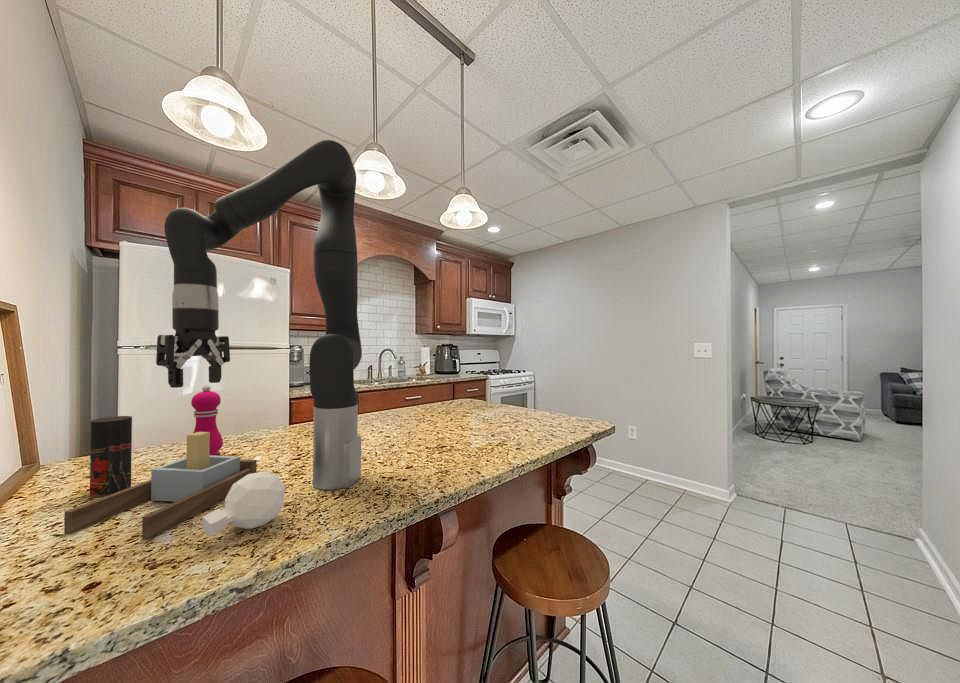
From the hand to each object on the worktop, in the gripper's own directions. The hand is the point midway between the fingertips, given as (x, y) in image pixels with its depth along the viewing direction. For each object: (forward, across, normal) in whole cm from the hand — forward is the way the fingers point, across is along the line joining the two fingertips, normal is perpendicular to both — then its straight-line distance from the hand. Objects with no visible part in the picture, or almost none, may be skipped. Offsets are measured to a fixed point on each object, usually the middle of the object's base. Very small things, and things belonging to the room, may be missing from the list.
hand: (196, 384), depth 73 cm
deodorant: (+22, -2, +18) cm, 28 cm away
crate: (+22, -1, -1) cm, 22 cm away
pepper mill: (+22, +16, +14) cm, 31 cm away
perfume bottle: (+23, -12, -21) cm, 33 cm away
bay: (+22, -6, -1) cm, 23 cm away
